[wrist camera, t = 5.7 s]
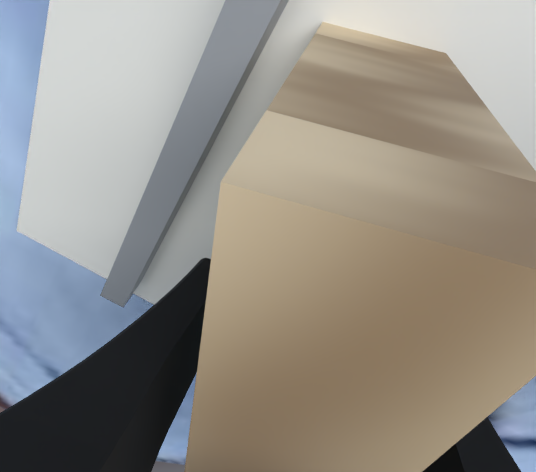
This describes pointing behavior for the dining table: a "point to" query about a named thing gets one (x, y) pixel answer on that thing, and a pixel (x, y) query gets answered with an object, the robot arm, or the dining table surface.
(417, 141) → the wooden frame
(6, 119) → the dining table surface
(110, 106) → the white board with bars
